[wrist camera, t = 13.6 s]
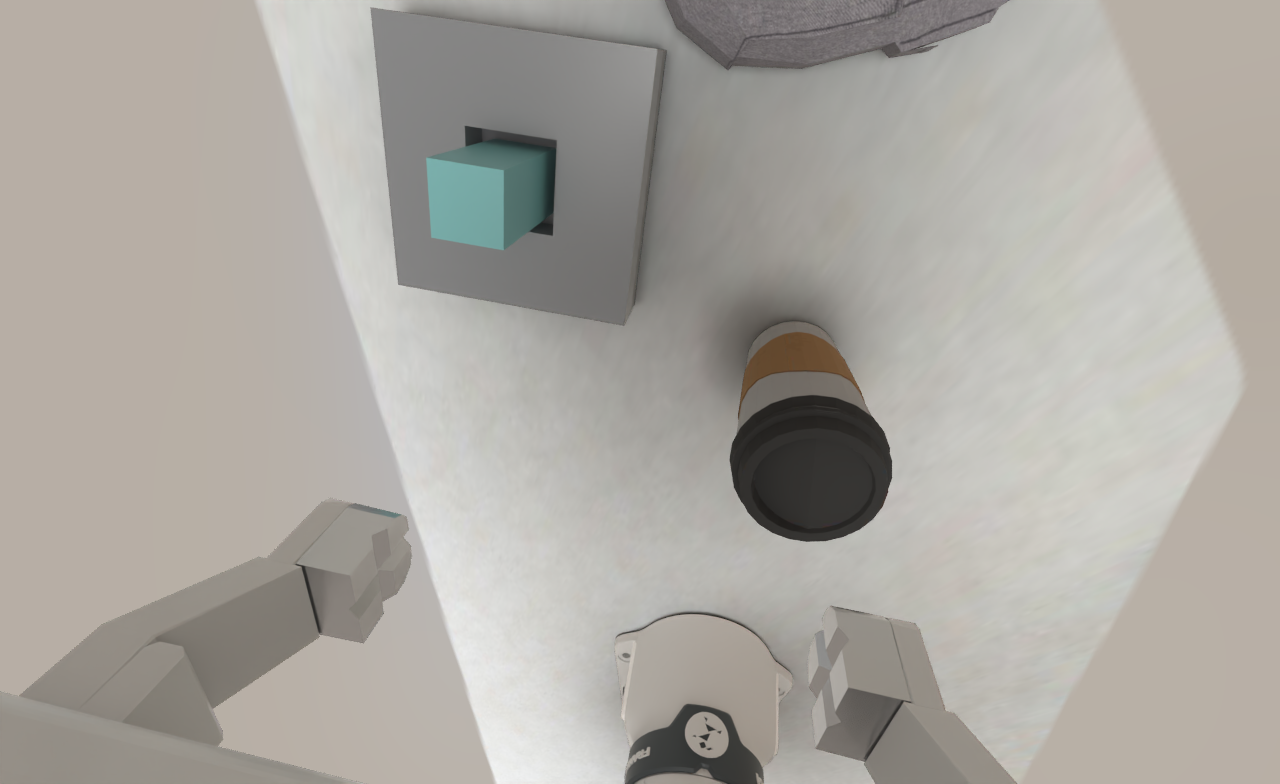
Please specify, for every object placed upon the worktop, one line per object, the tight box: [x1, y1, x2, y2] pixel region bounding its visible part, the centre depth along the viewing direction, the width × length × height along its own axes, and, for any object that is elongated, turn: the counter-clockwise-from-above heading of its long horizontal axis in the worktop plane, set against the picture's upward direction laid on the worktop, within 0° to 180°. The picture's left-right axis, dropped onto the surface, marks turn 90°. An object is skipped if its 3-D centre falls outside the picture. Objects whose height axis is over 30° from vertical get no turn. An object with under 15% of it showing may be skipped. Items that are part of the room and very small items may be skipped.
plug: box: [426, 138, 556, 250], centre depth 33 cm, size 4×4×9 cm
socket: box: [371, 8, 666, 326], centre depth 36 cm, size 16×16×4 cm
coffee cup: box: [730, 321, 892, 542], centre depth 35 cm, size 8×8×15 cm
